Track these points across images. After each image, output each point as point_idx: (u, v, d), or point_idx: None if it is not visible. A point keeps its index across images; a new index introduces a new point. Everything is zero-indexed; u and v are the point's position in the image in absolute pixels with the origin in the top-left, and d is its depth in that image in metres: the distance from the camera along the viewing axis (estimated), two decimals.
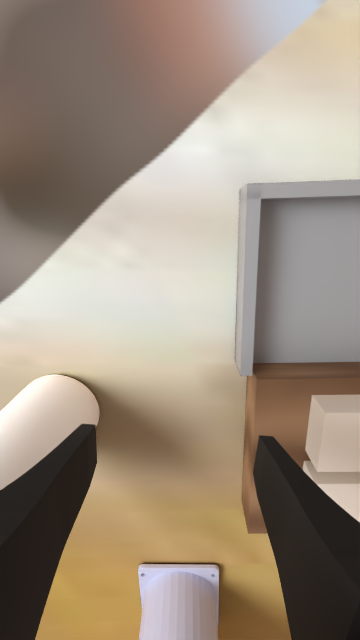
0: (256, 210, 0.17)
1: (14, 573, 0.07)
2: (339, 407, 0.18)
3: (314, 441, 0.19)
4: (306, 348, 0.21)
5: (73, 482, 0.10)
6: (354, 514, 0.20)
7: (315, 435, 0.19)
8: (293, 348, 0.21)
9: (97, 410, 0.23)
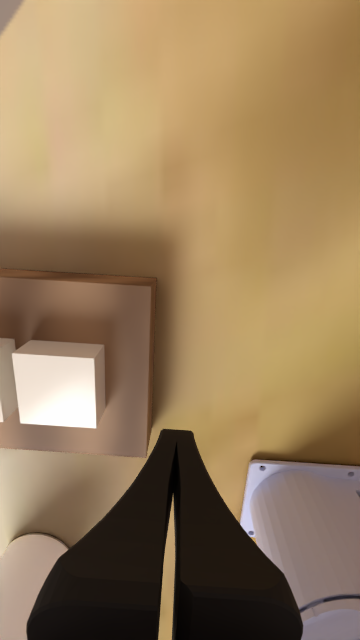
0: None
1: None
2: None
3: None
4: None
5: (170, 488, 0.10)
6: (62, 381, 0.16)
7: None
8: None
9: (30, 540, 0.26)
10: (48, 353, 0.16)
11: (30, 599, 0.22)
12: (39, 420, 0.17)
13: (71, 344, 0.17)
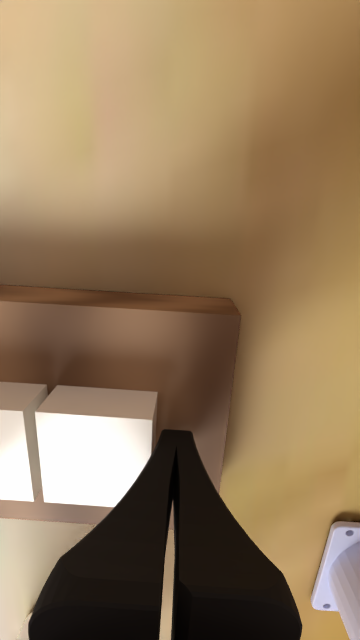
0: None
1: None
2: None
3: None
4: None
5: (171, 488, 0.10)
6: (105, 449, 0.12)
7: None
8: None
9: None
10: (87, 412, 0.11)
11: None
12: (70, 498, 0.12)
13: (113, 392, 0.13)
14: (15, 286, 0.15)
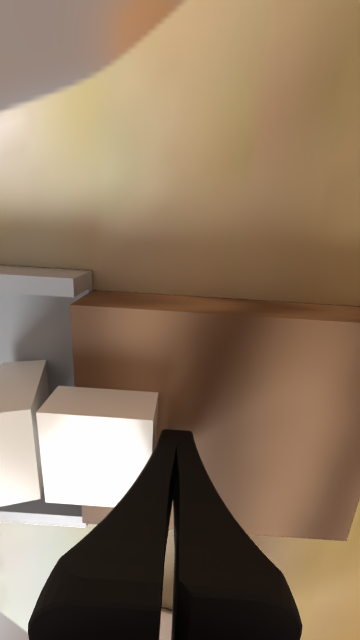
0: None
1: None
2: None
3: None
4: None
5: (171, 488, 0.10)
6: (106, 450, 0.12)
7: None
8: None
9: None
10: (88, 412, 0.11)
11: None
12: (71, 499, 0.12)
13: (114, 393, 0.13)
14: (154, 294, 0.15)
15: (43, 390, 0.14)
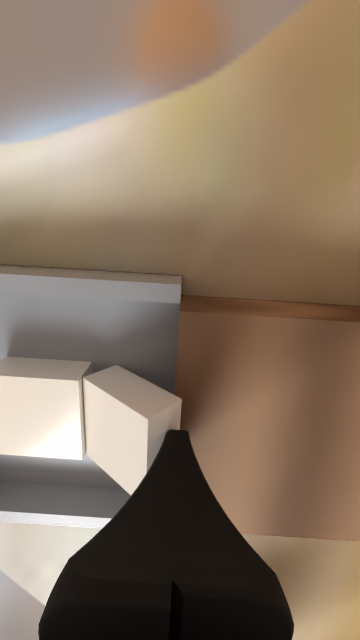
0: None
1: None
2: None
3: None
4: None
5: None
6: (118, 431, 0.13)
7: None
8: None
9: None
10: (111, 391, 0.13)
11: None
12: (99, 461, 0.14)
13: (146, 385, 0.14)
14: (244, 299, 0.15)
15: (46, 396, 0.14)
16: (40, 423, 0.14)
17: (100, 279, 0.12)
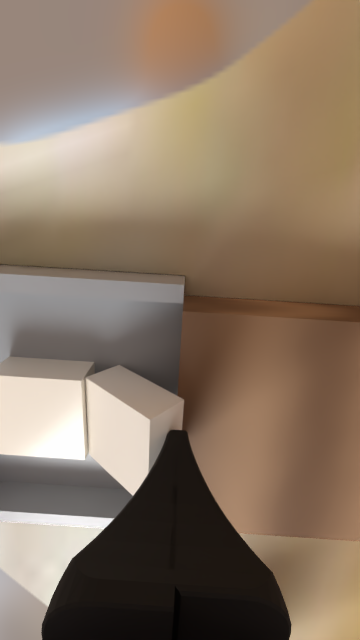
0: None
1: None
2: None
3: None
4: None
5: None
6: (120, 431, 0.13)
7: None
8: None
9: None
10: (113, 391, 0.13)
11: None
12: (101, 461, 0.14)
13: (149, 385, 0.14)
14: (246, 299, 0.15)
15: (49, 396, 0.14)
16: (43, 423, 0.14)
17: (103, 279, 0.12)
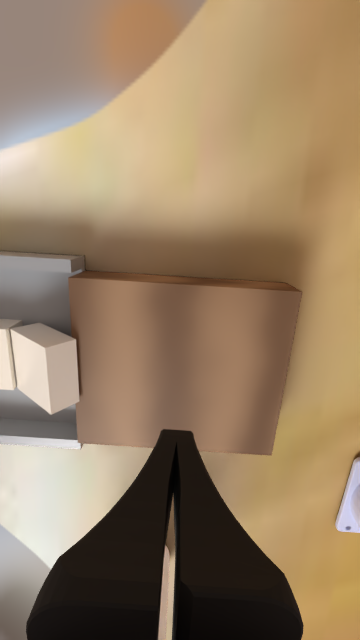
0: None
1: None
2: None
3: None
4: None
5: (170, 488, 0.10)
6: (32, 362, 0.18)
7: None
8: None
9: None
10: (27, 335, 0.18)
11: None
12: (25, 390, 0.20)
13: (55, 332, 0.19)
14: (129, 273, 0.20)
15: None
16: None
17: (15, 256, 0.18)
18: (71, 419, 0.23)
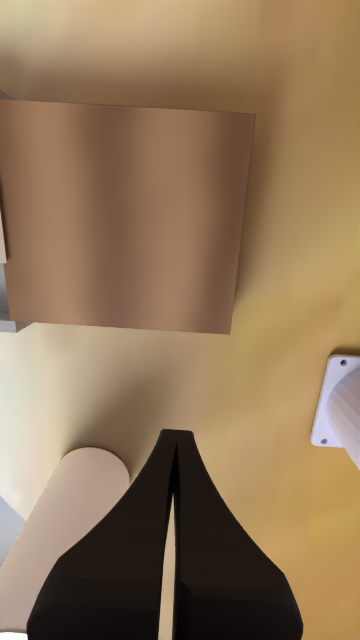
0: None
1: None
2: None
3: None
4: None
5: (170, 488, 0.10)
6: None
7: None
8: None
9: (86, 451, 0.24)
10: None
11: (96, 499, 0.20)
12: None
13: None
14: None
15: None
16: None
17: None
18: None
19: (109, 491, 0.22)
